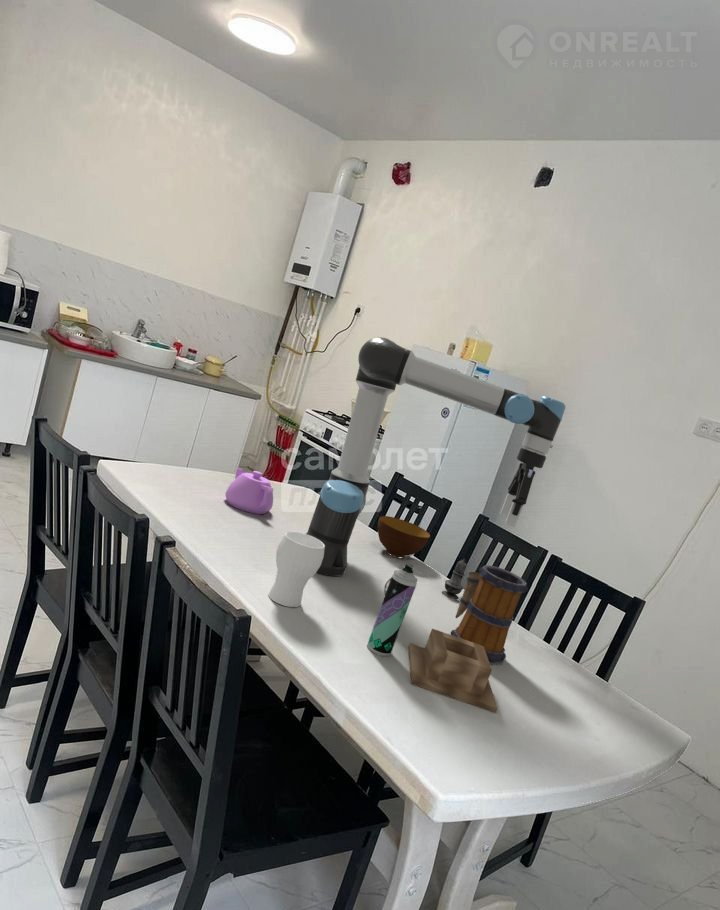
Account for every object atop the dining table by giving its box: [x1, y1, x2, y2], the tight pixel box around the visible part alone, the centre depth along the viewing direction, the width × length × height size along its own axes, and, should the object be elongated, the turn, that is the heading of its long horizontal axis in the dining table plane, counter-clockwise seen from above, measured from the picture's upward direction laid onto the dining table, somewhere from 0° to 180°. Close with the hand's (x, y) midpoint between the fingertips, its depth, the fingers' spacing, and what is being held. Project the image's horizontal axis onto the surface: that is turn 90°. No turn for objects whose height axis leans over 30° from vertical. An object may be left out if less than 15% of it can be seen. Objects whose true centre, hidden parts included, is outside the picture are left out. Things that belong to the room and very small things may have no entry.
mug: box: [450, 564, 529, 666], centre depth 170 cm, size 19×14×20 cm
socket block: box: [407, 628, 499, 714], centre depth 147 cm, size 18×18×7 cm
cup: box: [268, 530, 325, 608], centre depth 158 cm, size 11×11×15 cm
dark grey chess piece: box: [441, 558, 468, 601], centre depth 204 cm, size 6×6×12 cm
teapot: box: [225, 467, 274, 515], centre depth 224 cm, size 22×16×12 cm
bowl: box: [377, 515, 431, 558], centre depth 228 cm, size 18×18×10 cm
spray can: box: [366, 563, 418, 657], centre depth 148 cm, size 6×6×20 cm
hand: (506, 520), depth 198 cm, fingers open, 13 cm apart
